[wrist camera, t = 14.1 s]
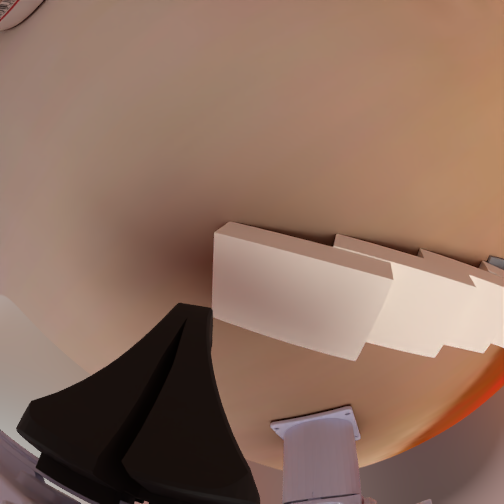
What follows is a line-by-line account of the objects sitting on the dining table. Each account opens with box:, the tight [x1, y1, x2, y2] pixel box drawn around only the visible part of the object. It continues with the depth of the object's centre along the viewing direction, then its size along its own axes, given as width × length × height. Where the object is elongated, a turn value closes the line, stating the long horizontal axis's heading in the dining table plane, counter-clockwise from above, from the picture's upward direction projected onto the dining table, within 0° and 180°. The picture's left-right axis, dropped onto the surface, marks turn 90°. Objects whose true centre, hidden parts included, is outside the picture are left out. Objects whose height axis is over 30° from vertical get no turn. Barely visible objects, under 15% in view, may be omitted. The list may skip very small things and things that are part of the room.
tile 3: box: [417, 249, 504, 353], centre depth 13 cm, size 2×5×8 cm
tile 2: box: [333, 234, 476, 358], centre depth 13 cm, size 2×5×8 cm
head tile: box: [212, 221, 394, 361], centre depth 13 cm, size 2×5×8 cm
